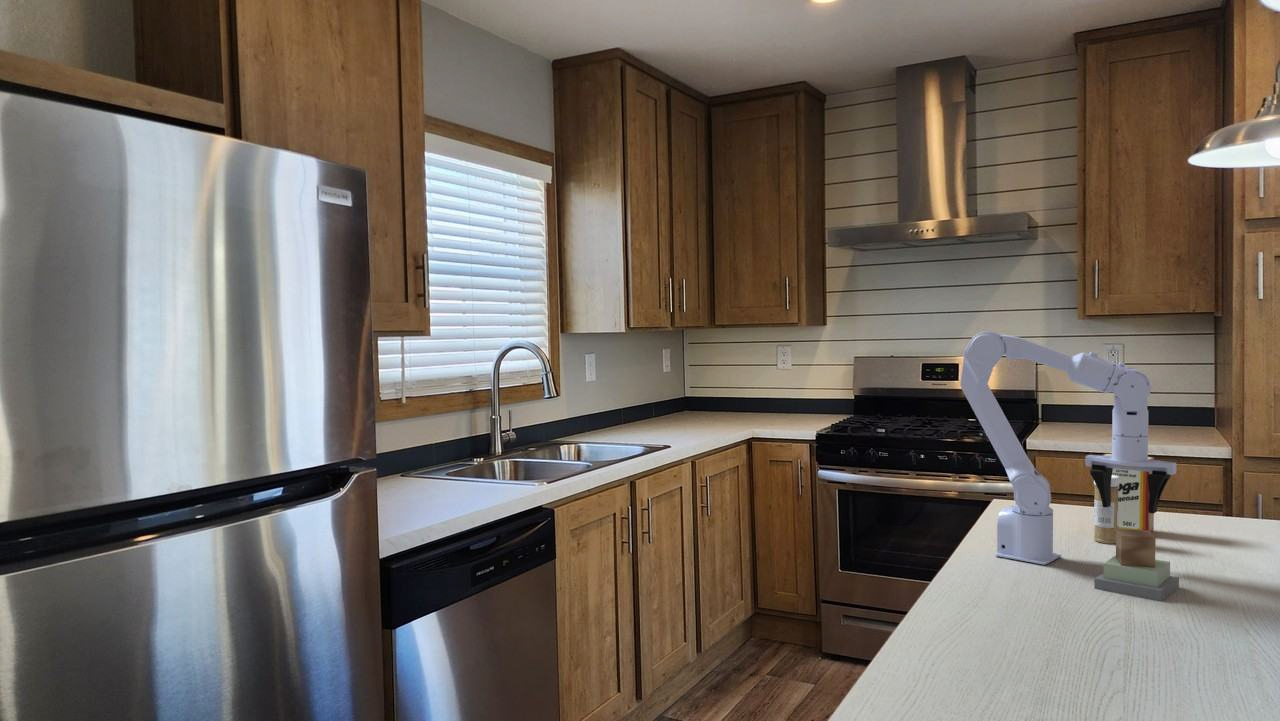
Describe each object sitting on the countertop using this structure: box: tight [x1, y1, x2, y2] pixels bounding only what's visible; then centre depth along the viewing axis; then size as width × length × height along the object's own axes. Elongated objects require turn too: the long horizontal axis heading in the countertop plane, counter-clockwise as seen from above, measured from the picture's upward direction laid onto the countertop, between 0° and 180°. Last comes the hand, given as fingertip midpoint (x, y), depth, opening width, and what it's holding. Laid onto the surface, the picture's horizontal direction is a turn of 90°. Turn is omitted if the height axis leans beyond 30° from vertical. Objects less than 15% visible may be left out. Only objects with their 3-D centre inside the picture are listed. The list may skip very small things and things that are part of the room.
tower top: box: [1103, 555, 1171, 587], centre depth 149 cm, size 8×8×2 cm
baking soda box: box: [1101, 453, 1155, 534], centre depth 188 cm, size 10×6×16 cm
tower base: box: [1093, 572, 1180, 602], centre depth 149 cm, size 10×10×2 cm
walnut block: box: [1115, 529, 1157, 568], centre depth 149 cm, size 5×5×5 cm
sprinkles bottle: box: [1093, 475, 1119, 545], centre depth 179 cm, size 5×5×14 cm
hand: (1129, 509), depth 162 cm, fingers open, 7 cm apart
